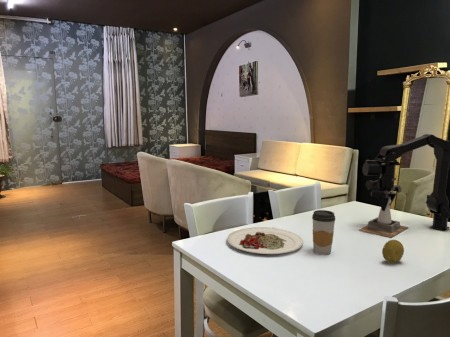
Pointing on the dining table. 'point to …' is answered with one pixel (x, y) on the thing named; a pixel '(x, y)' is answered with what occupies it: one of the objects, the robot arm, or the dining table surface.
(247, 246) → the plated food
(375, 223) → the brown tray
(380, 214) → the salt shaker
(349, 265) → the dining table surface
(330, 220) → the coffee cup
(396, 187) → the robot arm
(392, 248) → the ochre rounded piece
